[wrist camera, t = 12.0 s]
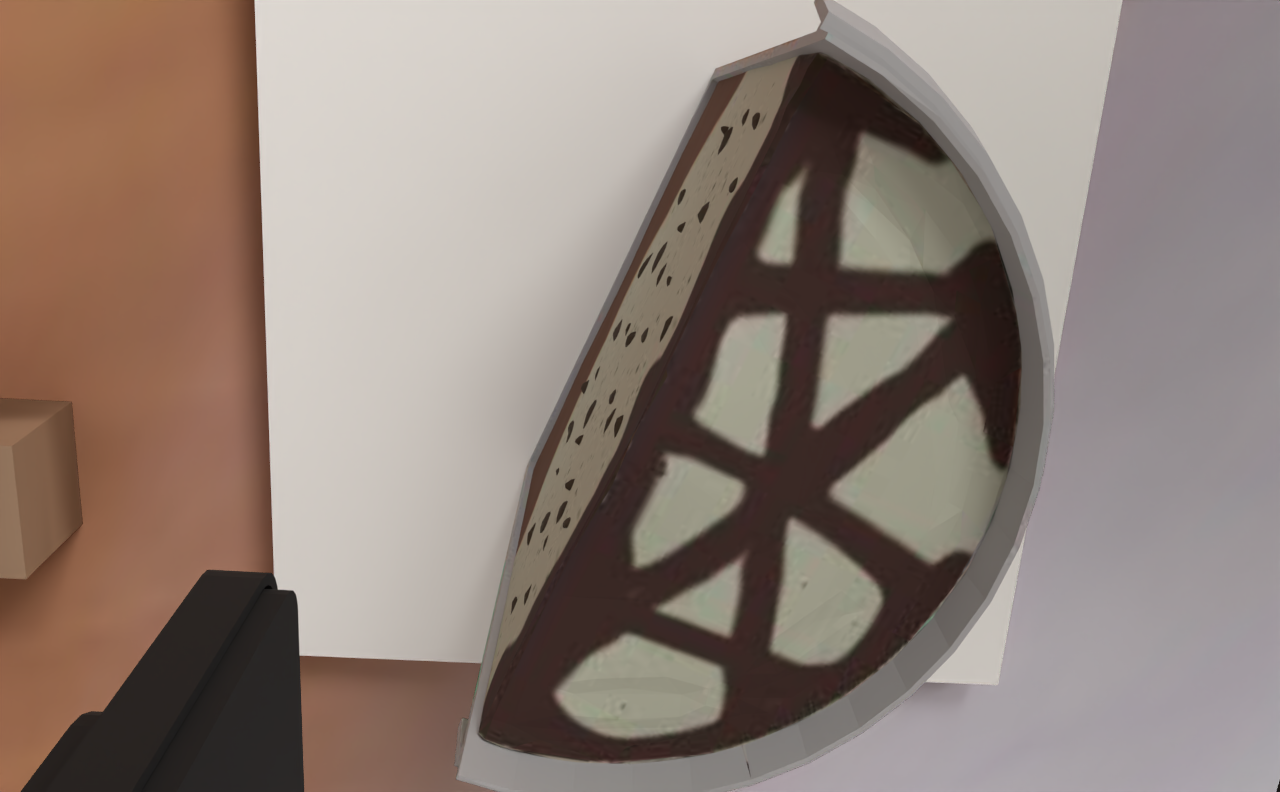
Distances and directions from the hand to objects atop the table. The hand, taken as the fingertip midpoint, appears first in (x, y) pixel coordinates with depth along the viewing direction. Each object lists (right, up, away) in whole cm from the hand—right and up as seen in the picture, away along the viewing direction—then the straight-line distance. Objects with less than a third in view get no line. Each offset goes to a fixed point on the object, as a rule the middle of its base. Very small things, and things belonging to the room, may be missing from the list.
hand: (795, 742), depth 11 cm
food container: (+1, +5, +15) cm, 15 cm away
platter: (-1, +5, +16) cm, 16 cm away
